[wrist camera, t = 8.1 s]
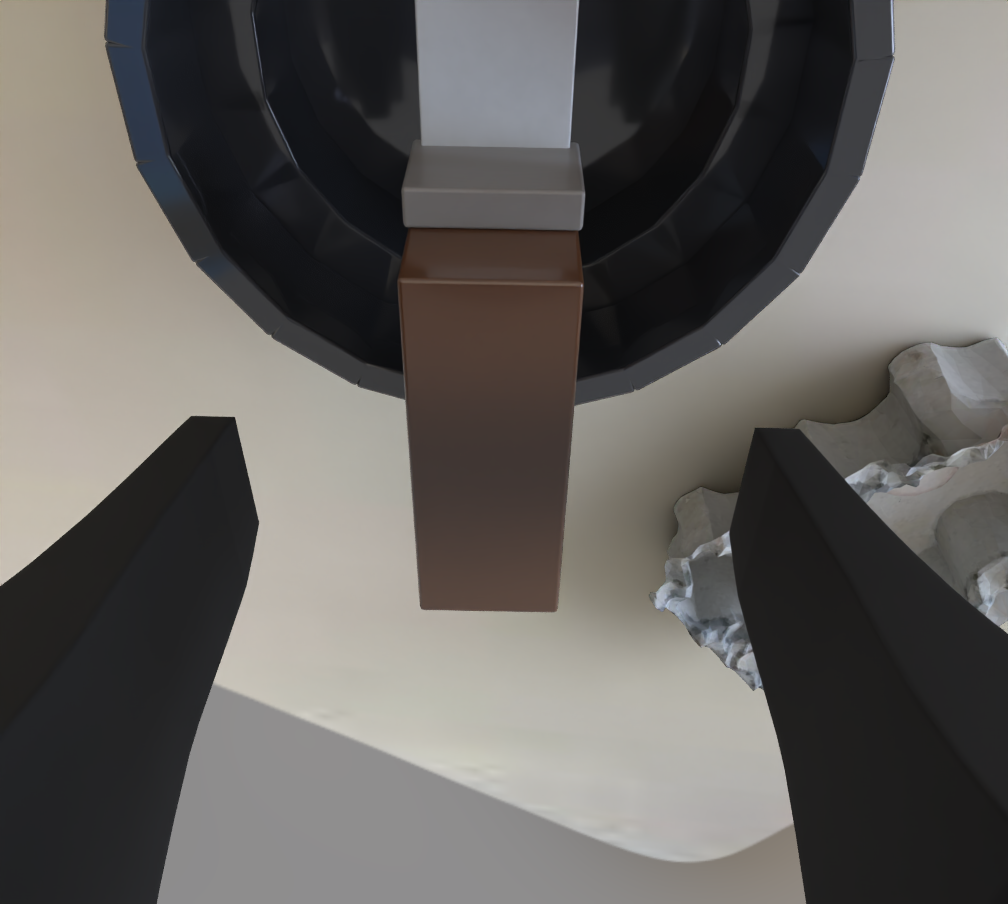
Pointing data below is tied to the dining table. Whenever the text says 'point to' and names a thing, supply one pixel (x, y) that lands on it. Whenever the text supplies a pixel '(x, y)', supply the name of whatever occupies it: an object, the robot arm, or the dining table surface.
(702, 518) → the egg carton
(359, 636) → the dining table surface
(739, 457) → the dining table surface
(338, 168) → the bowl
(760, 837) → the dining table surface
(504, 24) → the knife
